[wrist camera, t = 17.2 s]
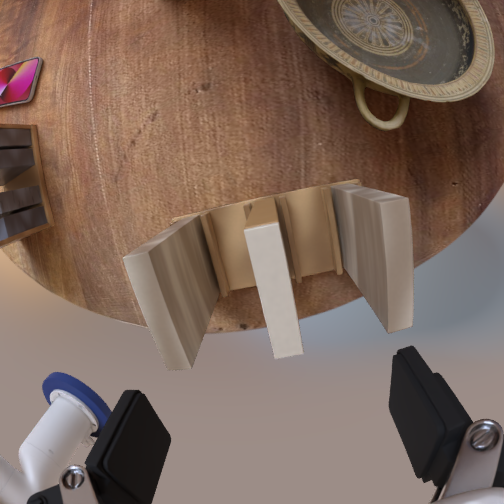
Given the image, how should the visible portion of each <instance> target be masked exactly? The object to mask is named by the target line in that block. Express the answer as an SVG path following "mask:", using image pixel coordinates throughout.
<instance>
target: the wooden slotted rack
mask: <svg viewBox="0 0 504 504" xmlns="http://www.w3.org/2000/svg"><path fill="white" fill-rule="evenodd" d="M272 197H274V199H275V203H276V208H277V213H278V218H279V223H280V228H281V232H282V237H283V242H284V247H285V252H286V257H287V262H288V267H289V272H290V277H291V279H293V278H296V283H302V278H301V277H303V276H308V275H313V274H318V273H322V272H327V271H332V270H335V271H336V273H337V275H340V274H343V271H342V268H345V270H346V271H347V273H348V274H349V275H350V277H351V278H352V280H353V281H354V283H355V284H356V286H357V287H358V289H359V290H360V291H361V293H362V294H363V296H364V297H365V299H366V300H367V302H368V303H369V305H370V306H371V308H372V309H373V311H374V312H375V314H376V315H377V317H378V318H379V320H380V322H381V323H382V325H383V326H384V328H385V329H386V331H387V333H393V332H396V331H399V330H403V329H406V328H409V327H412V325H413V306H414V305H413V304H414V265H413V242H412V228H411V216H410V206H409V199H408V198H406V197H403V196H399V195H395V194H391V193H387V192H384V191H380V190H375V189H371V188H367V187H363V186H362V183H360V182H359V179H352V180H346V181H341V182H335V183H330V184H324V185H319V186H313V187H308V188H303V189H298V190H293V191H288V192H283V193H278V194H273V195H269V196H264V197H259V198H255V199H250V200H246V201H241V202H237V203H232V204H228V205H224V206H220V207H215V208H211V209H207V210H203V211H199V212H195V213H191V214H187V215H183V216H179V217H175V218H173V219H172V223H170V227H168V228H167V229H165V230H164V231H162V232H161V233H159V234H157V235H156V236H154V237H153V238H151V239H150V240H148V241H147V242H145V243H144V244H142V245H141V246H139V247H138V248H136V249H135V250H133V251H132V252H130V253H129V254H127V255H126V256H124V257H123V261H124V264H125V267H126V270H127V273H128V276H129V279H130V281H131V284H132V287H133V290H134V292H135V295H136V298H137V300H138V303H139V305H140V308H141V311H142V313H143V316H144V318H145V320H146V323H147V325H148V328H149V330H150V332H151V335H152V337H153V339H154V342H155V344H156V346H157V348H158V350H159V352H160V355H161V357H162V359H163V361H164V364H165V366H166V368H167V370H183V369H192V367H193V364H194V361H195V359H196V356H197V353H198V350H199V348H200V345H201V342H202V340H203V337H204V334H205V332H206V329H207V326H208V323H209V321H210V318H211V315H212V313H213V310H214V307H215V305H216V302H217V299H218V297H219V294H220V292H221V294H222V297H227V296H228V294H229V291H230V290H236V289H241V288H247V287H252V286H257V284H256V280H255V276H254V271H253V267H252V263H251V259H250V255H249V251H248V247H247V242H246V238H245V234H244V227H245V224H246V222H247V219H248V217H249V214H250V212H251V209H252V207H253V205H254V202H255V201H258V200H263V199H267V198H272Z"/></svg>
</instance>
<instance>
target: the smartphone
mask: <svg viewBox="0 0 504 504" xmlns="http://www.w3.org/2000/svg"><path fill="white" fill-rule="evenodd" d="M41 65H42V58H40V57H34V58H31V59H27V60H24V61H21V62H18V63H15V64H12V65H9V66H6V67H3V68H0V107H4V106H9V105H15V104H20V103H26V102H29V101H31V99H32V98H33V95H34V91H35V87H36V83H37V80H38V76H39V72H40V69H41Z"/></svg>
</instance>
